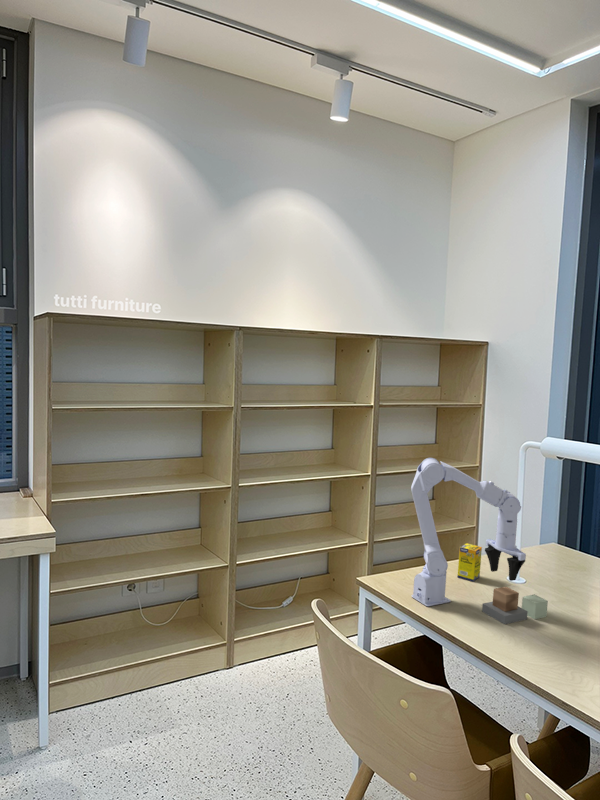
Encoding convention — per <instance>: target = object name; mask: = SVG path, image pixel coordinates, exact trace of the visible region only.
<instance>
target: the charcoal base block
mask: <svg viewBox="0 0 600 800" xmlns="http://www.w3.org/2000/svg"><path fill="white" fill-rule="evenodd" d="M492 604H493V601H488V602H483V603H482V605H481V612H482V613H484V614H485V615H487V616H489V617H491V618H492V619H494V620H496V621H498V622H499V623H501V624H503V625H508V624H512V623H517V622H521V621H526V620H528V616H527V613H528V611H526V610H524V609H522V606H521V607H520V606H519V605H518V609H516V610H511V611H507V612H504V611H503V610H501V609H499V608H497V607H495V606H493V605H492Z"/></svg>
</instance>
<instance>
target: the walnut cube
mask: <svg viewBox="0 0 600 800" xmlns="http://www.w3.org/2000/svg"><path fill="white" fill-rule="evenodd" d="M492 594H493V595H492V602H493V604H492V605H493V606H495V607H497V608H499V609H501V610H503V611H504V612H507V611H511V610H516V609H518V606H519V598H520V597H519V596H520V595H519V594H520V592H519V591H516V590H514V589H512V588H510V587H507V586H503V587H502V586H501V587H497V588H493V593H492Z"/></svg>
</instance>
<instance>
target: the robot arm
mask: <svg viewBox="0 0 600 800" xmlns="http://www.w3.org/2000/svg"><path fill="white" fill-rule="evenodd" d="M442 480H443V482H450V481H454V482H456V483H458V484H459V485H462V486H464V487H466V488H468V489H469V490H472V491H474V492H475V495H476V498H477V499H480V500H481V501H484V502H486V503H487V504H490V505H491V506H493V507H495V508H498V514H497V519H496V520H497V522H496V523H497V524H496V535H495V539H491V538H488V539H485V546H486V547H485V548H484V552H485V554H486V555H487V558H488V562H489V568H490V571H491V572H497V571H498V570H499V563H500V558H501V554H502V553H504V554H506V555H509V556H510V557H507V558H506V560H507V564H508V580H509V581H511V582H512V581H516V580H517V577H518V575H519V571H520V570H521V568H522V567H523V566H524V565H525V562H526V559H527V558H526V557H527V553H525V552H523V551H522V550H520V549H519V548H518V546H517V545H516V542H517V541H516V540H517V539H516V538H517V526H518V514H519V512H520V511H521V509H522V506H521V502H520V501H519V499H518V498H517V496H515V494H513V493H511V492H510V491H508V490H507V489H505V488H504V489H502V488H501V487H498V486H497V485H495V483H494V481H492V480H489V481H487V480H483V481H478V480H477V479H475V478H473V477H472V476H470V475H469V474H466V473H464V472H463V471H461V470H460V469H458V468H456V467H454V466H453V465H451V464H448V463H446V462H444V461H441V460H440V461H438V460H437V458H434V457H427V458H425V459H423V460H422V462H421V463H420V464H419V465H418V466H417V469H416V472H415V475H414V478H413V481H412V483H411V487H410V490H411V494H412V499H413V502H414V507H415V511H416V516H417V520H418V525H419V529H420V532H421V537H422V541H423V547H424V551H423V559H424V560H423V561H425V565H424V566H423V568H422V571H421V572H419V573H417V574H416V575H415V576H414V579H413V589H412V590H413V591H412V594H411V597H412V598H413V599H415V601H417V602H419V603H421V605H424V606H426V607H432V606H437V605H441V604H447V603H451V602H452V600H451V599H449V598H448V597H446V585H447V573H448V571H447V570H448V568H449V564H448V561H447V560H446V557H445V555H444V551H443V550H442V549H441V545H440V541H439V537H438V534H437V533H438V532H437V530H436V529H437V528H436V524H435V520H434V517H433V512H432V508H431V504H430V499H429V496H428V494H429V492H430V491H431V489H433V487H435V486H436V485H438V484H439V483H440V482H442Z"/></svg>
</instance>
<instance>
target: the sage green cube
mask: <svg viewBox="0 0 600 800" xmlns="http://www.w3.org/2000/svg"><path fill="white" fill-rule="evenodd" d="M521 599H522V601H521V608H522V609H524V610H526V611H528V613H527V617H529V618H531V619H533V620H539V619H542V618H546V617H548V614H547V613H548V604H549V603H548V601H549V600H547V599H545V598H543V597H541V596H539V595H537V594H530V595H524V596H522V598H521Z"/></svg>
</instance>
